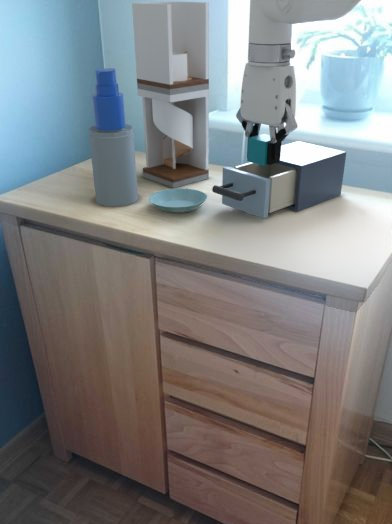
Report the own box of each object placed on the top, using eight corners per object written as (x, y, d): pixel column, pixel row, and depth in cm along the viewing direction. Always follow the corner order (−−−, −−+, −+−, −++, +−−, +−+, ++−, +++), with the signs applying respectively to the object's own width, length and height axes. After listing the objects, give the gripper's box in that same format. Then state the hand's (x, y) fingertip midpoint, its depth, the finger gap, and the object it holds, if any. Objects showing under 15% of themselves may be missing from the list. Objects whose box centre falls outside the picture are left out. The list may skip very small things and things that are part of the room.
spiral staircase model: (143, 176, 132) (132, 3, 113) (177, 168, 138) (173, 1, 118) (173, 188, 125) (167, 4, 105) (208, 178, 131) (208, 2, 111)
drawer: (246, 225, 104) (247, 186, 100) (204, 209, 111) (204, 172, 107) (308, 202, 114) (312, 165, 110) (266, 189, 121) (268, 154, 117)
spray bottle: (125, 189, 124) (115, 64, 110) (145, 200, 118) (137, 69, 104) (89, 197, 120) (73, 68, 106) (107, 209, 114) (94, 74, 100)
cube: (279, 161, 108) (280, 137, 106) (263, 165, 106) (265, 141, 103) (262, 156, 111) (263, 133, 108) (247, 161, 108) (248, 137, 106)
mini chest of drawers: (297, 212, 112) (301, 165, 107) (251, 196, 119) (253, 153, 114) (340, 195, 120) (346, 151, 115) (294, 182, 128) (298, 141, 122)
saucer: (137, 209, 114) (136, 198, 113) (176, 194, 121) (176, 184, 120) (180, 222, 107) (179, 211, 106) (218, 206, 115) (219, 195, 113)
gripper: (321, 56, 95) (310, 165, 105) (249, 49, 105) (244, 148, 115) (293, 61, 91) (284, 174, 101) (220, 52, 101) (219, 155, 111)
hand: (263, 159), depth 108 cm, fingers closed on cube, 4 cm apart
